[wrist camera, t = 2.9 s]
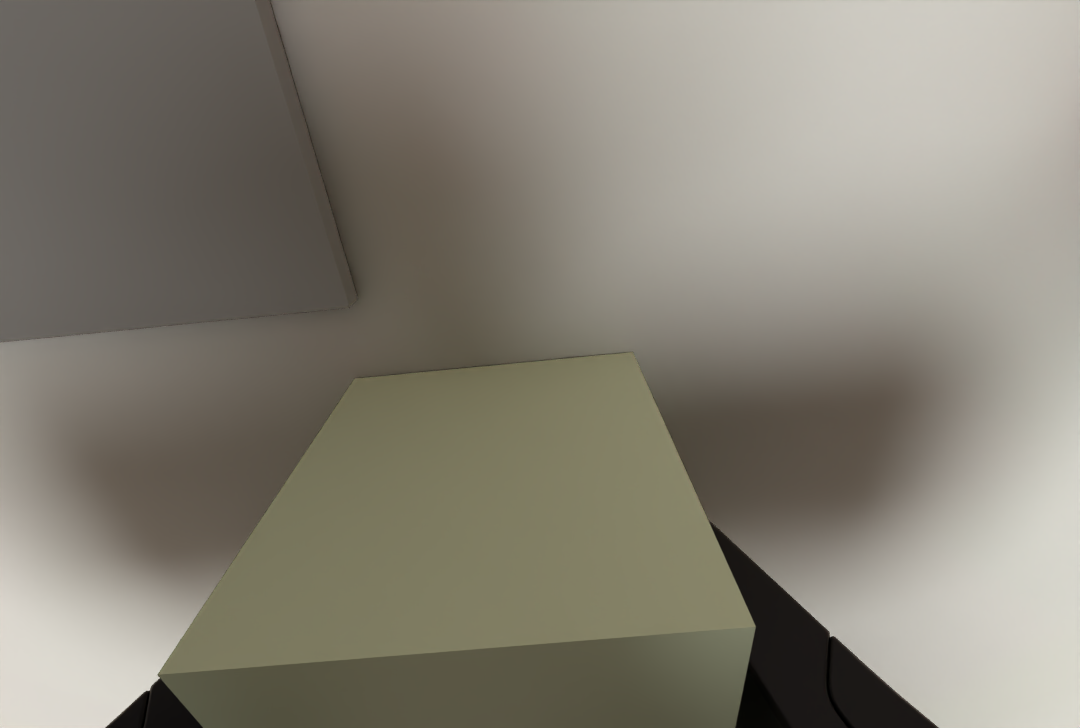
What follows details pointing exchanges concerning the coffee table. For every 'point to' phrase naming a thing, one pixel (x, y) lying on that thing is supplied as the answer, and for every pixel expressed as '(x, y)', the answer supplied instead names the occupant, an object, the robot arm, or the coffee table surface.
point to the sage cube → (477, 567)
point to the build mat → (156, 170)
